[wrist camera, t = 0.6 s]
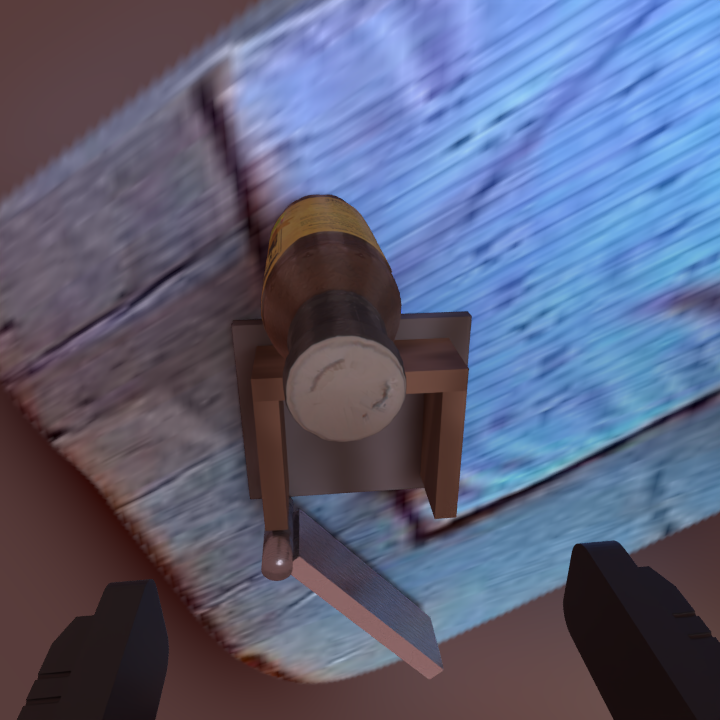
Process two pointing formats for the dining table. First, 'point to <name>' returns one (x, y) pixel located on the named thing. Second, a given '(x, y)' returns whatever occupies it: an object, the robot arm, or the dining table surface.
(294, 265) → the sauce bottle
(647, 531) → the dining table surface
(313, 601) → the dining table surface
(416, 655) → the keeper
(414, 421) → the cradle
